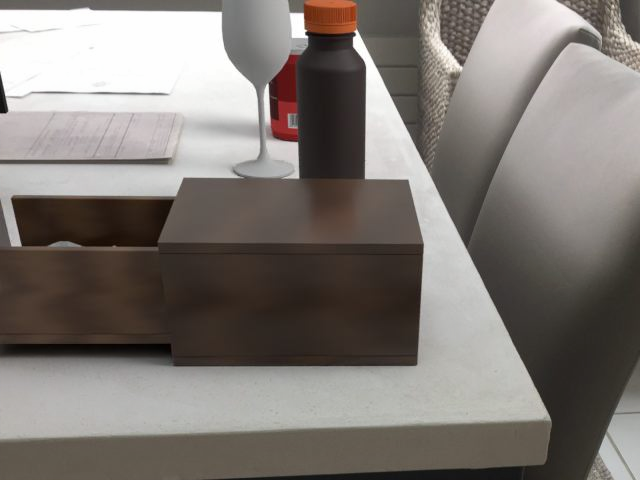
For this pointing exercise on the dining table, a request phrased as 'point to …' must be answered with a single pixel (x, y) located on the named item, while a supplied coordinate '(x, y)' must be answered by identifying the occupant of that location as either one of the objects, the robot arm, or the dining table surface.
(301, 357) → the cabinet
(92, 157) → the dining table surface
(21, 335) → the drawer
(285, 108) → the canned food
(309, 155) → the bottle
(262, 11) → the wineglass
